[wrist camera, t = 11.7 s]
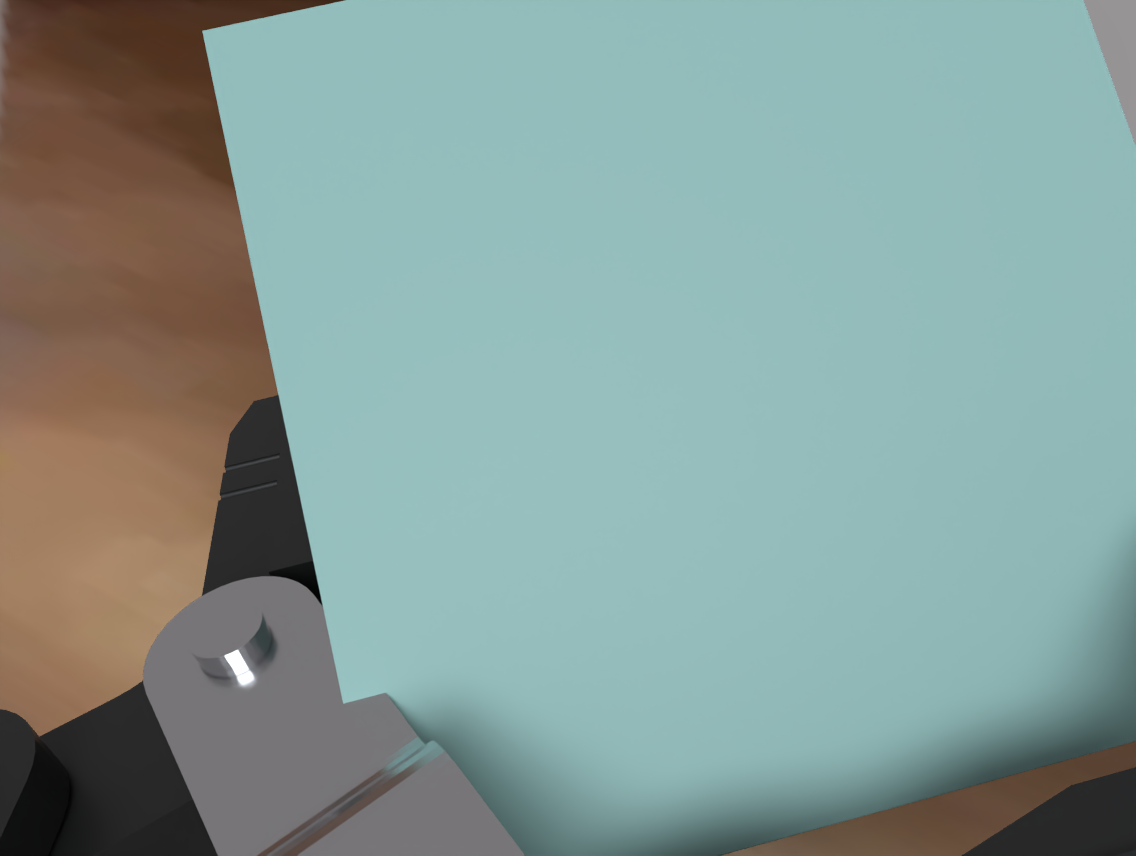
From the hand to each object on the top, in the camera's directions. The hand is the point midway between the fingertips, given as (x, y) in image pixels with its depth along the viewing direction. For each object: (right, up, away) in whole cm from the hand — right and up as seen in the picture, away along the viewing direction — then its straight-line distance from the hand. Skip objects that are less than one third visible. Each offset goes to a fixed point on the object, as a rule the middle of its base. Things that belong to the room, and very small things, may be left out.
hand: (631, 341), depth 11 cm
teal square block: (0, -2, +4) cm, 5 cm away
